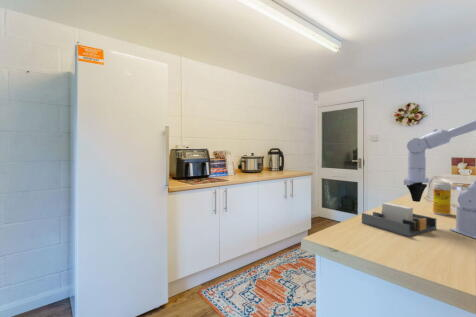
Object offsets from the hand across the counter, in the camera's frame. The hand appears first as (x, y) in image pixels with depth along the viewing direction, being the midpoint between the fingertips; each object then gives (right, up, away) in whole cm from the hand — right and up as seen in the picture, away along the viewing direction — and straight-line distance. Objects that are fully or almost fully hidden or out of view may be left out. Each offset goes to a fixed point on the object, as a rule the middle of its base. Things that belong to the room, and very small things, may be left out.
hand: (416, 201), depth 96 cm
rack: (-9, -10, -2) cm, 13 cm away
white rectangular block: (-9, -8, -1) cm, 12 cm away
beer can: (+23, -9, +14) cm, 28 cm away
